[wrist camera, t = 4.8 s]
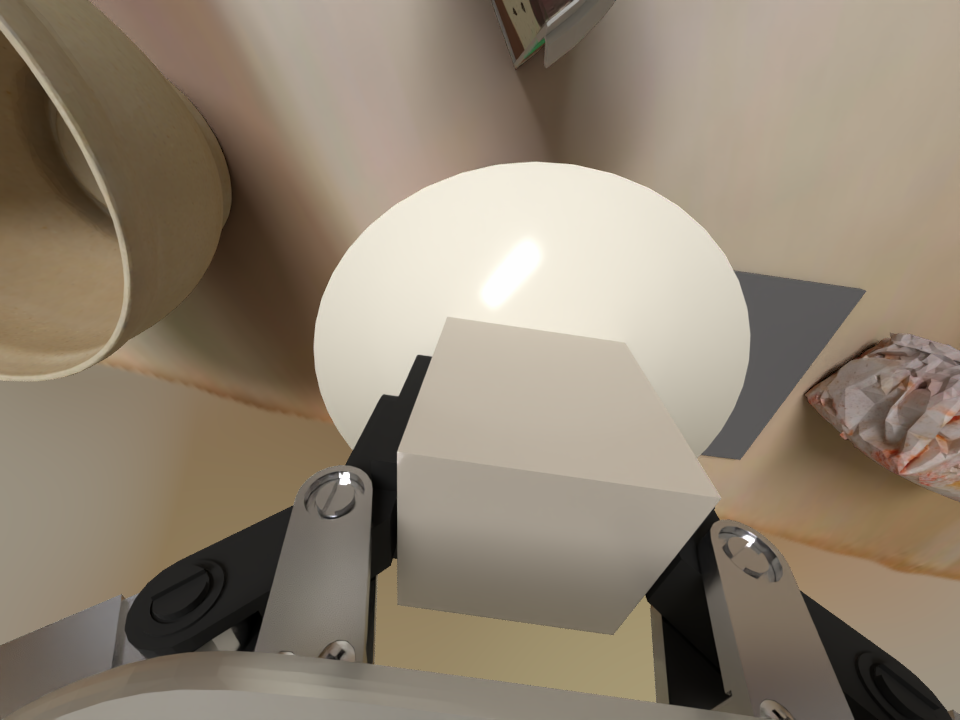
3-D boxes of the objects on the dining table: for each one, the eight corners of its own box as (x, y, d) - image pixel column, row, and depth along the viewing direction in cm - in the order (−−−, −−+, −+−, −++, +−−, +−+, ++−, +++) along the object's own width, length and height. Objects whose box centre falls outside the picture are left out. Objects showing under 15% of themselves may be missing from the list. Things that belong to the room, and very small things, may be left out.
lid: (840, 204, 8) (1368, 284, 3) (638, 525, 15) (703, 711, 10) (296, 123, 8) (-47, 74, 3) (343, 483, 15) (260, 649, 10)
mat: (860, 288, 21) (866, 290, 21) (737, 456, 29) (740, 459, 29) (626, 255, 21) (629, 257, 21) (564, 433, 29) (565, 437, 28)
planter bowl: (343, 249, 22) (226, 320, 12) (154, 320, 25) (-50, 418, 16) (143, -128, 14) (-550, -680, 5) (-90, 46, 17) (-767, -79, 8)
